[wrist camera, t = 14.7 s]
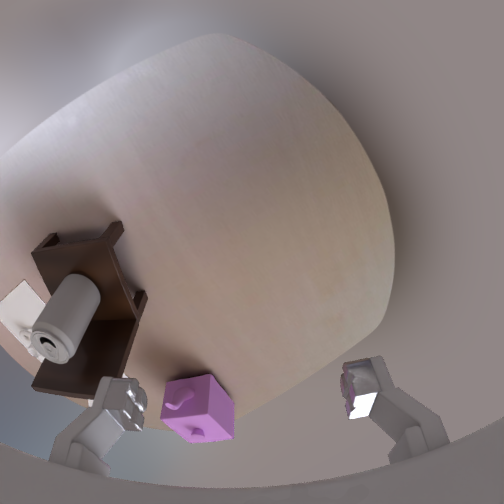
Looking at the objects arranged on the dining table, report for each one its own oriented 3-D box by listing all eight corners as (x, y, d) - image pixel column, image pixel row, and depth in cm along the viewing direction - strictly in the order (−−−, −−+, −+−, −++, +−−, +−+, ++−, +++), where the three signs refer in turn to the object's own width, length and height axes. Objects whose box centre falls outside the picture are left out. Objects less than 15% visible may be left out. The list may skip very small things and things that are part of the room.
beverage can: (99, 274, 38) (63, 336, 27) (105, 309, 41) (76, 371, 31) (61, 267, 37) (20, 324, 27) (69, 302, 40) (36, 359, 30)
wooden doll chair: (49, 233, 41) (-22, 314, 24) (121, 220, 40) (56, 314, 23) (80, 303, 48) (35, 391, 31) (148, 299, 48) (114, 402, 30)
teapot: (238, 402, 64) (238, 450, 53) (199, 409, 65) (195, 454, 54) (198, 350, 54) (191, 407, 43) (153, 360, 56) (141, 412, 45)
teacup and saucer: (18, 329, 52) (11, 342, 49) (33, 320, 51) (24, 333, 47) (44, 355, 56) (38, 367, 53) (60, 348, 55) (53, 361, 51)
